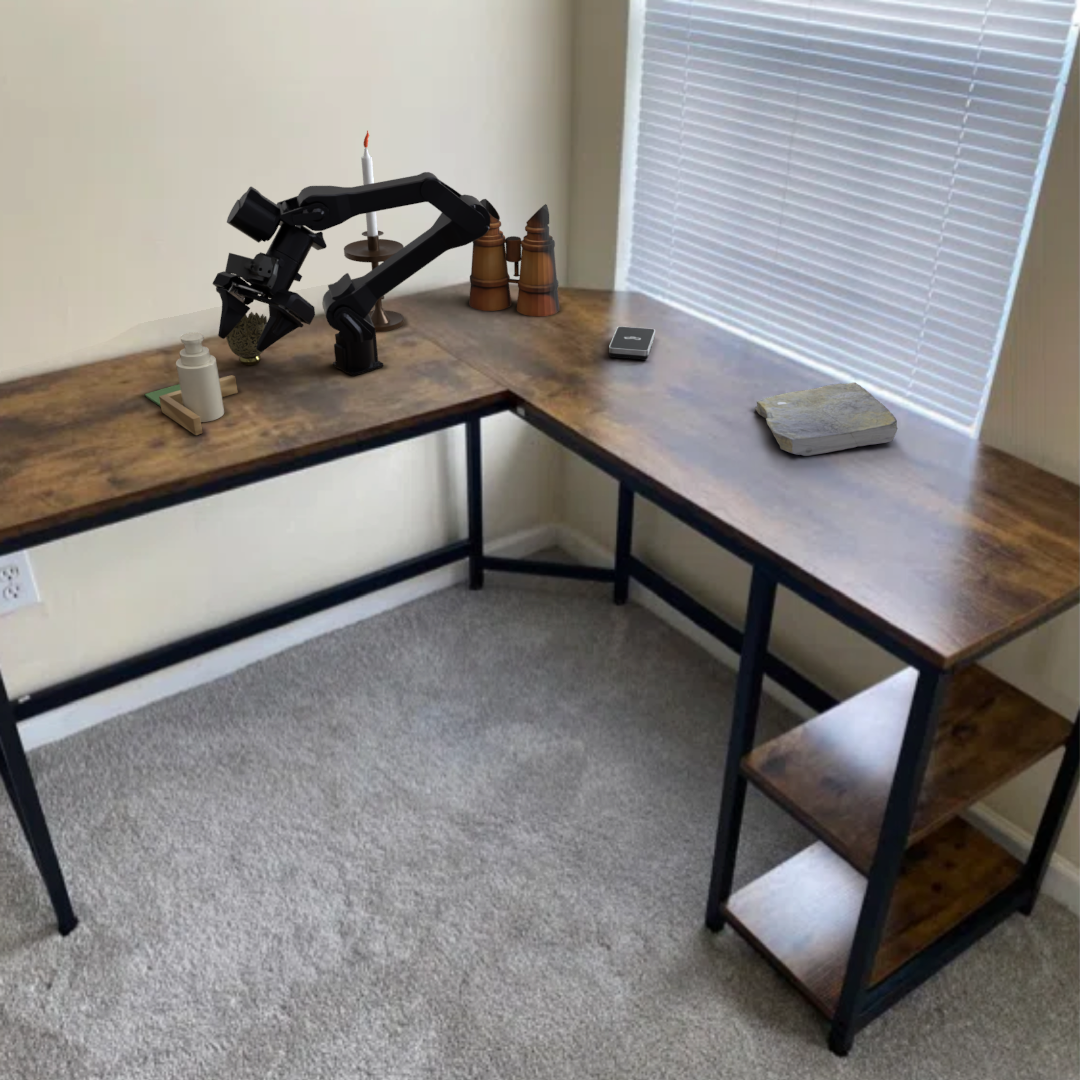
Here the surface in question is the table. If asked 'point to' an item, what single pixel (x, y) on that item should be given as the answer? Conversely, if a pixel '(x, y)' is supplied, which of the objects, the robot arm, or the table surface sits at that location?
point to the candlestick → (374, 252)
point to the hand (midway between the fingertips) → (239, 344)
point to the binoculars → (515, 267)
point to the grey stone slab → (827, 419)
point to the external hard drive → (632, 342)
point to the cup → (247, 338)
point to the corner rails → (184, 416)
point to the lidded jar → (199, 379)
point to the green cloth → (161, 393)
